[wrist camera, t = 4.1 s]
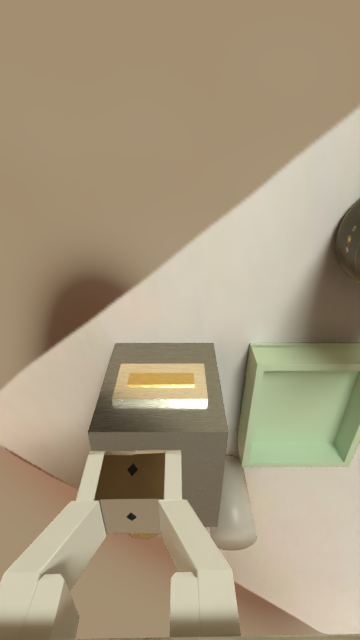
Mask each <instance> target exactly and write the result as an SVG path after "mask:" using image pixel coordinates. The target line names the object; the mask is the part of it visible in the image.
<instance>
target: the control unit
mask: <svg viewBox="0 0 360 640" xmlns="http://www.w3.org/2000/svg"><path fill="white" fill-rule="evenodd" d="M88 435H89V440H90V444H91V449H92V451H141V450H165V452H166V450H181V467H182V499H187V501H188V502H189V504H190V505H191V507H192V508H193V510H194V512H195V513H196V515H197V516H198V518H199V519H200V521H201V522H202V524H203V526H204V527H218V520H219V511H220V502H221V493H222V484H223V475H224V466H225V457H226V448H227V439H228V427H227V422H226V416H225V410H224V404H223V398H222V392H221V386H220V380H219V374H218V368H217V362H216V356H215V350H214V344H213V343H115V346H114V350H113V353H112V356H111V359H110V363H109V366H108V369H107V372H106V375H105V379H104V382H103V385H102V388H101V392H100V395H99V398H98V401H97V405H96V408H95V411H94V414H93V418H92V421H91V424H90V427H89V430H88Z"/></svg>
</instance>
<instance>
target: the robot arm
mask: <svg viewBox="0 0 360 640" xmlns="http://www.w3.org/2000/svg"><path fill="white" fill-rule="evenodd" d="M117 533H160V534H161V537H162V539H163V541H164V543H165V545H166V547H167V549H168V551H169V554H170V556H171V558H172V560H173V562H174V564H175V566H176V569H177V570H178V572H176V573H175V574H174V575H173V576H172V578H171V598H170V637H167V638H117V639H116V638H115V639H114V638H111V639H75V638H76V632H77V626H78V622H79V615H78V612H77V610H76V608H75V605H74V603H73V600H72V597H71V595H70V590H71V589H72V587H73V586H74V584H75V583H76V581H77V580H78V578H79V577H80V575H81V574H82V572H83V571H84V569H85V568H86V566H87V565H88V563H89V562H90V560H91V559H92V557H93V556H94V554H95V553H96V551H97V550H98V548H99V546H100V545H101V544H102V542H103V541H104V539H105V537H106V534H117ZM0 640H360V634H339V635H283V636H241V633H240V625H239V617H238V610H237V602H236V595H235V587H234V579H233V572H232V569H231V567H230V566H229V564H228V563H227V561H226V560H225V558H224V557H223V555H222V553H221V552H220V550H219V549H218V547H217V546H216V544H215V543H214V541H213V539H212V538H211V536H210V535H209V533H208V532H207V530H206V529H205V527H204V526H203V524H202V522H201V521H200V519H199V518H198V516H197V515H196V513H195V512H194V510H193V508H192V507H191V505H190V504H189V502H188V501H187V499H182V467H181V450H166V452H165V450H141V451H90V453H89V455H88V457H87V460H86V464H85V468H84V471H83V475H82V478H81V482H80V486H79V489H78V493H77V497H76V500H75V501H70V502H69V503H68V504H67V505H66V506H65V508H64V509H63V510H62V511H61V512H60V513H59V514H58V515H57V516H56V517H55V519H54V520H53V521H52V522H51V523H50V524H49V525H48V526H47V527H46V529H44V530H43V531H42V533H41V534H40V535H39V536H38V537H37V538H36V539H35V540H34V541H33V542H32V543H31V545H30V546H29V547H28V548H27V549H26V550H25V551H24V552H23V553H22V554H21V556H20V557H19V558H18V559H17V560H16V561H15V562H14V563H13V564H12V565H11V566H10V567H9V568H8V570H7V571H6V572H5V573H4V575H3V578H2V581H1V583H0Z"/></svg>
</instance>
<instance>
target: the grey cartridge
mask: <svg viewBox="0 0 360 640" xmlns="http://www.w3.org/2000/svg"><path fill="white" fill-rule="evenodd" d="M210 532H211V538H212V539H213V541H214V543H215V544H216V546H217V547H218V548H220V549H223V550H241V549H245V548H247V547H249V546H251V545H253V544H254V543H255V541H256V539H257V535H256V530H255V525H254V520H253V515H252V510H251V505H250V500H249V494H248V489H247V484H246V479H245V474H244V469H243V467H241V462H240V459H238V458H237V457H235V456H231V455H226V457H225V466H224V475H223V484H222V493H221V502H220V511H219V520H218V527H210Z"/></svg>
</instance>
